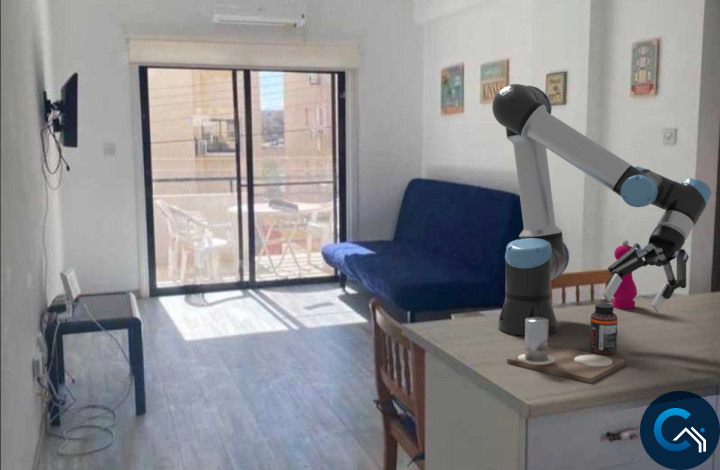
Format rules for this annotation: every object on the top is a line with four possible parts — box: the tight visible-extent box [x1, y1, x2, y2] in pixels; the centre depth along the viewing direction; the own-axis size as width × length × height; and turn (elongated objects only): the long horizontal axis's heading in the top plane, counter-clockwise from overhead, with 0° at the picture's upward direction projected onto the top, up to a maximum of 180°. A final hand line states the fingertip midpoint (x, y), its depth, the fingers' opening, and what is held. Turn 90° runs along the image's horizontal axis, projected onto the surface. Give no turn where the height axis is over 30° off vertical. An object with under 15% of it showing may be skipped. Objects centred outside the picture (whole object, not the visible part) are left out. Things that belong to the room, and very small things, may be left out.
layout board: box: [506, 343, 626, 384], centre depth 156 cm, size 20×16×1 cm
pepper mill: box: [611, 239, 638, 310], centre depth 207 cm, size 7×7×20 cm
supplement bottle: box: [589, 302, 618, 356], centre depth 164 cm, size 6×6×11 cm
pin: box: [524, 317, 549, 362], centre depth 156 cm, size 5×5×9 cm
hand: (629, 303), depth 165 cm, fingers open, 13 cm apart
